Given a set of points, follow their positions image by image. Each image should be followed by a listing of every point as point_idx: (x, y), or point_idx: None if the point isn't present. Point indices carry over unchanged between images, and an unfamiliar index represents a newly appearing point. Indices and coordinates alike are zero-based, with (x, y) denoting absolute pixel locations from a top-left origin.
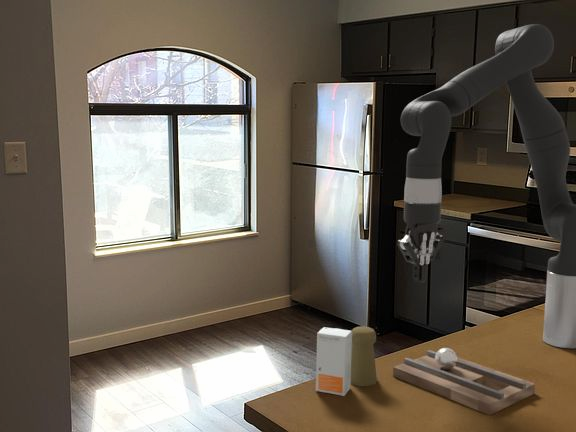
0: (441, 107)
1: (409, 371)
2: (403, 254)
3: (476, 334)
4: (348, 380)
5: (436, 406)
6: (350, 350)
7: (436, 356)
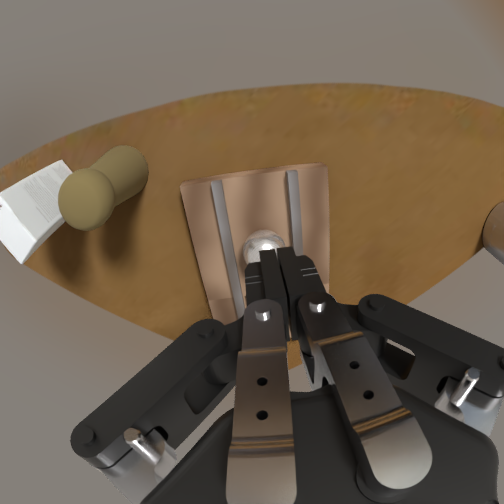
0: None
1: (193, 219)
2: (149, 370)
3: (465, 122)
4: None
5: (176, 295)
6: (53, 227)
7: (245, 248)
